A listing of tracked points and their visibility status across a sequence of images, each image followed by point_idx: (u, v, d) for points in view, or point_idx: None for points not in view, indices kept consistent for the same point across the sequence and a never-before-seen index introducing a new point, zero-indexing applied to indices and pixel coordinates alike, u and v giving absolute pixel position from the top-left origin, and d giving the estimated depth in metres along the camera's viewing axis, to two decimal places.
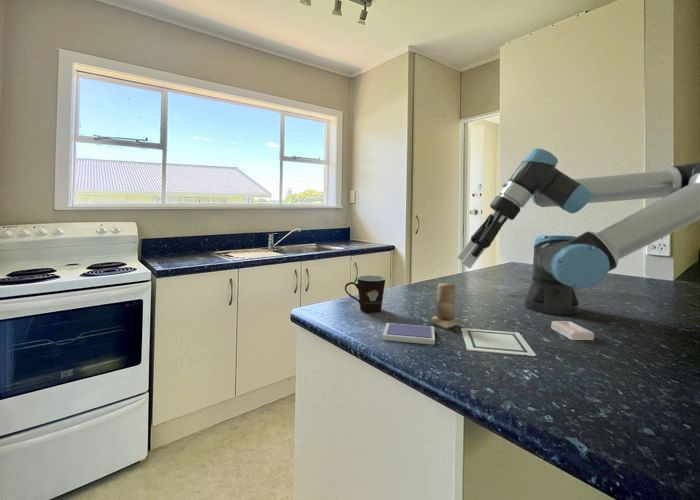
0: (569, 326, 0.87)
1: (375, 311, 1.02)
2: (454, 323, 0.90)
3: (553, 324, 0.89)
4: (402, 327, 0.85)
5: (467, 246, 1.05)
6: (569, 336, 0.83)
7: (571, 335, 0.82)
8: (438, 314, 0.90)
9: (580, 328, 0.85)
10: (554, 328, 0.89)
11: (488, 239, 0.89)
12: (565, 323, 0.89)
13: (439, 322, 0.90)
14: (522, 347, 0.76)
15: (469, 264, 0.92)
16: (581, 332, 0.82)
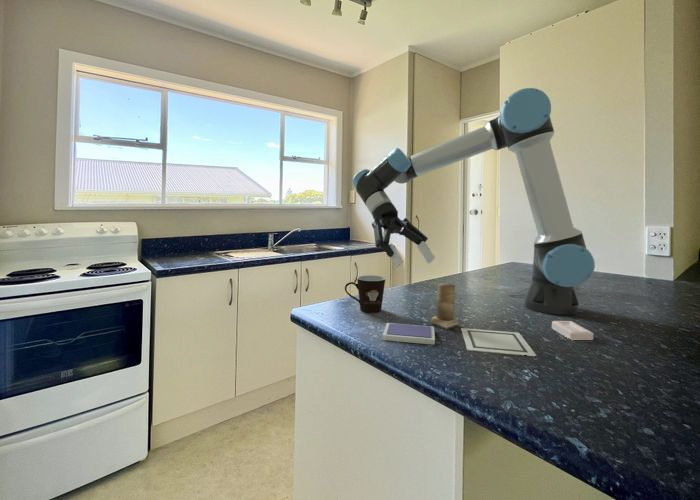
0: (569, 326, 0.87)
1: (375, 311, 1.02)
2: (454, 323, 0.90)
3: (553, 324, 0.89)
4: (402, 327, 0.85)
5: (421, 250, 1.05)
6: (568, 336, 0.83)
7: (569, 334, 0.82)
8: (438, 314, 0.90)
9: (580, 328, 0.85)
10: (554, 328, 0.89)
11: (377, 239, 0.96)
12: (566, 323, 0.89)
13: (439, 322, 0.90)
14: (522, 347, 0.76)
15: (398, 261, 0.94)
16: (580, 332, 0.82)
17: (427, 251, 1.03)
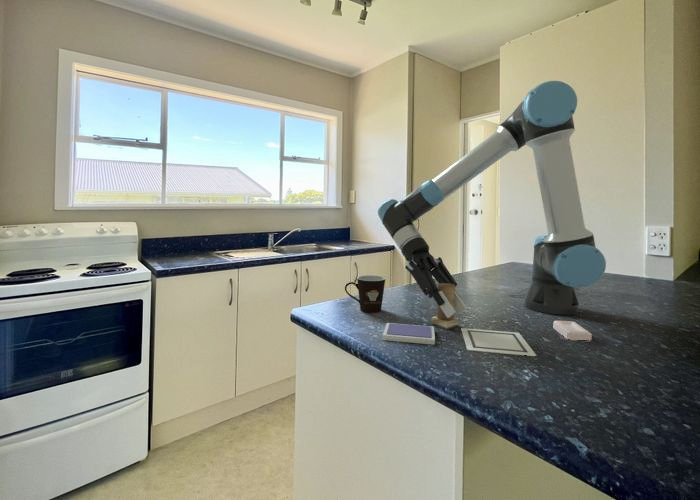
0: (570, 326, 0.87)
1: (375, 311, 1.02)
2: (454, 323, 0.90)
3: (554, 323, 0.90)
4: (402, 327, 0.85)
5: None
6: (565, 335, 0.83)
7: (566, 334, 0.83)
8: (438, 314, 0.90)
9: (580, 328, 0.85)
10: (555, 327, 0.89)
11: (424, 287, 0.89)
12: (567, 323, 0.89)
13: (439, 322, 0.90)
14: (522, 347, 0.76)
15: (450, 311, 0.86)
16: (577, 332, 0.82)
17: (458, 300, 0.90)
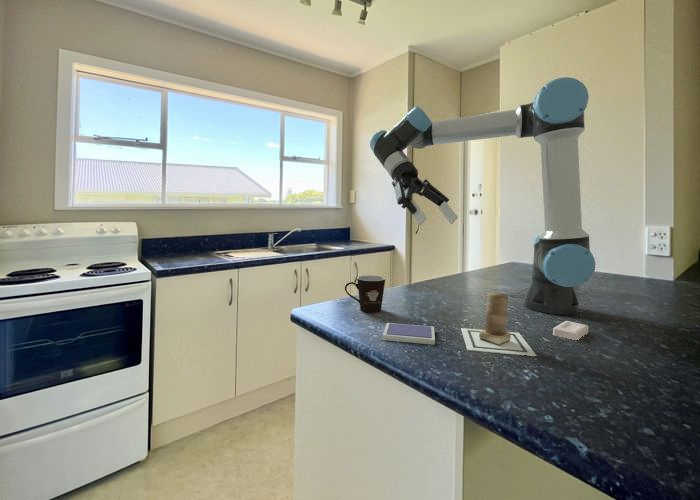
0: (574, 327, 0.87)
1: (375, 311, 1.02)
2: (506, 338, 0.79)
3: None
4: (402, 327, 0.85)
5: (442, 211, 1.01)
6: None
7: (553, 329, 0.86)
8: (488, 328, 0.80)
9: (575, 329, 0.84)
10: None
11: (399, 196, 0.93)
12: (576, 325, 0.88)
13: (490, 337, 0.79)
14: (522, 347, 0.76)
15: (421, 217, 0.90)
16: (563, 329, 0.84)
17: (449, 211, 0.99)
